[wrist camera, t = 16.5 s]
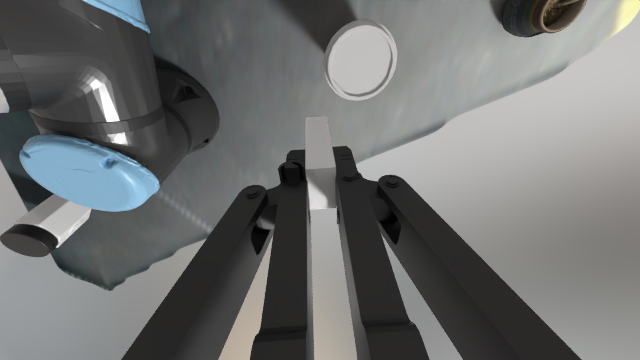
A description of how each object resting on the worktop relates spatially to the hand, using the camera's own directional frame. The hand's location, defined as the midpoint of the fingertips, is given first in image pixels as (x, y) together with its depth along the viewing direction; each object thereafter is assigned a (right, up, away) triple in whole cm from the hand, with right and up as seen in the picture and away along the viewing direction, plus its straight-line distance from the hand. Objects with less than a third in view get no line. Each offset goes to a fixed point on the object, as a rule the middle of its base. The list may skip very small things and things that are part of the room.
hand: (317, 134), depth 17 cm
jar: (-62, -10, +41) cm, 75 cm away
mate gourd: (+31, +24, +19) cm, 43 cm away
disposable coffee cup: (+5, +18, +22) cm, 29 cm away
